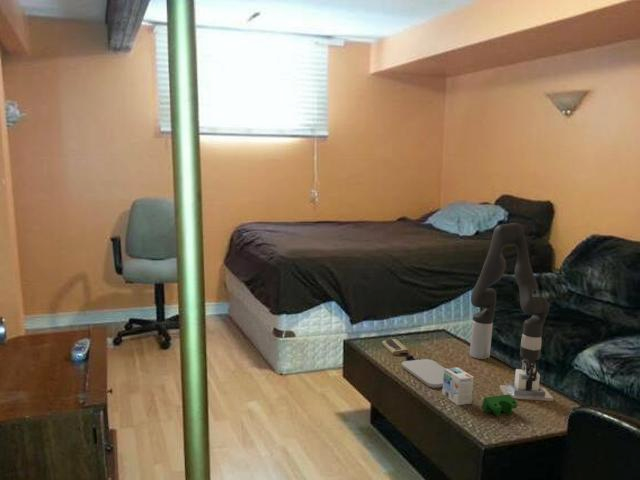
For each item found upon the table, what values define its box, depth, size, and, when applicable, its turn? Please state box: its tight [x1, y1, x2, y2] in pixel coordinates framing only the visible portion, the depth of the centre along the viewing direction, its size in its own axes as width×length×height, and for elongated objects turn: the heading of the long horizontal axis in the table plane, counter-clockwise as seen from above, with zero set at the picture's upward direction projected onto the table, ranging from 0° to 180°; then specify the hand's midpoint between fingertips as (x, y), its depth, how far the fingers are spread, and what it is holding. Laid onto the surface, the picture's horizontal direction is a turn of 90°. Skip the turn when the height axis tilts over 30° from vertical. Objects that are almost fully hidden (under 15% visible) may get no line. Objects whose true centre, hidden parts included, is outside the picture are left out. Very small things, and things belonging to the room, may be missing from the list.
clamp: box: [481, 394, 519, 418], centre depth 203 cm, size 12×6×9 cm, turn 105°
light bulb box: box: [441, 366, 475, 406], centre depth 214 cm, size 11×7×11 cm, turn 22°
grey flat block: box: [499, 380, 554, 402], centre depth 222 cm, size 10×18×3 cm, turn 87°
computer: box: [381, 338, 410, 356], centre depth 268 cm, size 16×8×3 cm, turn 13°
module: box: [513, 368, 541, 391], centre depth 221 cm, size 5×8×7 cm, turn 87°
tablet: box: [401, 358, 447, 389], centre depth 237 cm, size 16×26×2 cm, turn 21°
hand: (526, 386), depth 222 cm, fingers closed on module, 5 cm apart
